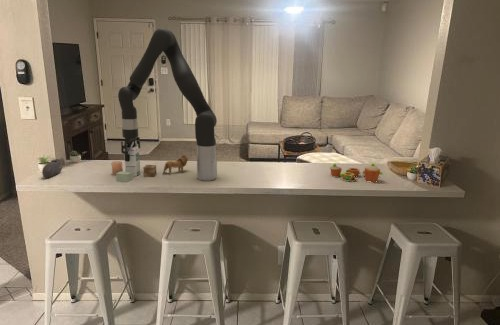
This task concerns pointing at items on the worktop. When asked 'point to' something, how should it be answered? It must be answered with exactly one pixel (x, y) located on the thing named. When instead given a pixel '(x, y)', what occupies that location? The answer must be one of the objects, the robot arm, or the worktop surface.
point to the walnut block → (149, 170)
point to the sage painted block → (124, 176)
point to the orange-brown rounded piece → (116, 167)
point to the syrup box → (133, 161)
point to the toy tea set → (369, 173)
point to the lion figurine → (176, 164)
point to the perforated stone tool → (52, 168)
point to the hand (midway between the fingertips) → (131, 159)
